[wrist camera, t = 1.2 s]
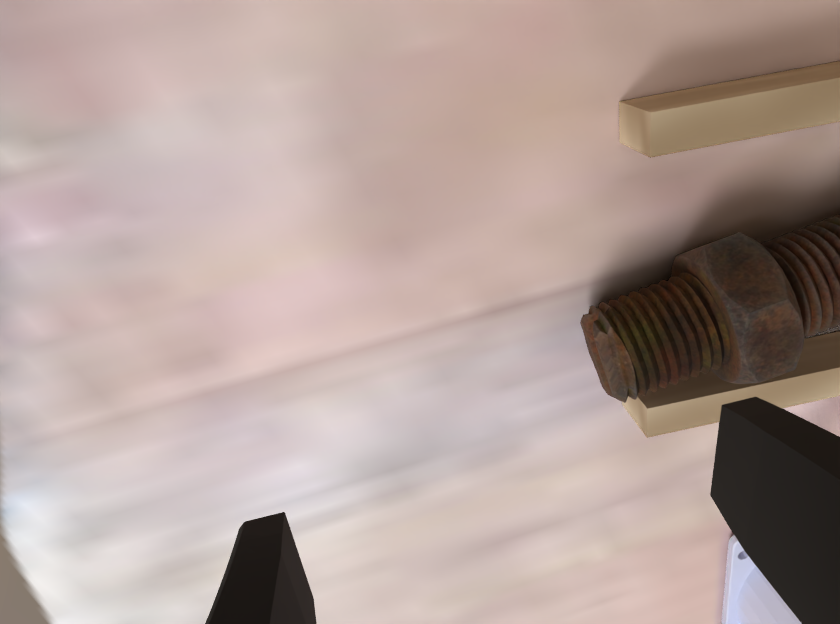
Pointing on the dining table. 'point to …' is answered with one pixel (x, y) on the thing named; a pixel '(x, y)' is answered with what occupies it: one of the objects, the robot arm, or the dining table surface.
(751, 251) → the bolt
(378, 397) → the dining table surface
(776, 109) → the guide channel
